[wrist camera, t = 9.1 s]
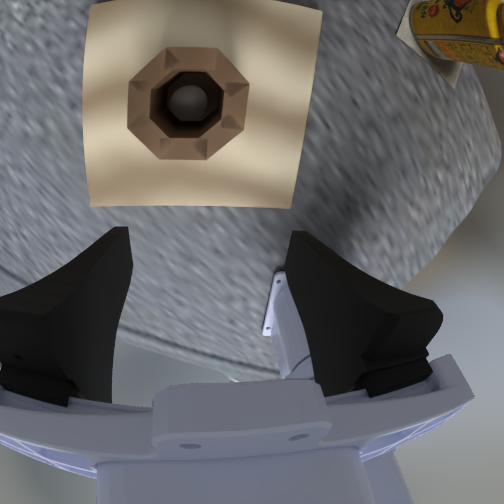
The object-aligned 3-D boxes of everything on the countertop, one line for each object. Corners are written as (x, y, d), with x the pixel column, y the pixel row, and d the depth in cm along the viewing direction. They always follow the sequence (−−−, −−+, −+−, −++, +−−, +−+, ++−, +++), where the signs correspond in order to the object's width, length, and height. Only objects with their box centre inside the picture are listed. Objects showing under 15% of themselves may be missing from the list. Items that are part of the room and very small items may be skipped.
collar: (230, 137, 18) (240, 162, 13) (150, 136, 17) (127, 160, 12) (239, 60, 15) (254, 51, 10) (154, 58, 14) (131, 49, 9)
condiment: (415, -15, 11) (519, -23, 2) (469, 40, 14) (563, 61, 4) (394, 35, 15) (513, 41, 5) (452, 89, 18) (552, 126, 8)
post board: (287, 203, 23) (305, 235, 19) (94, 201, 20) (72, 233, 16) (317, 13, 14) (348, 0, 10) (96, 7, 11) (67, -7, 7)
